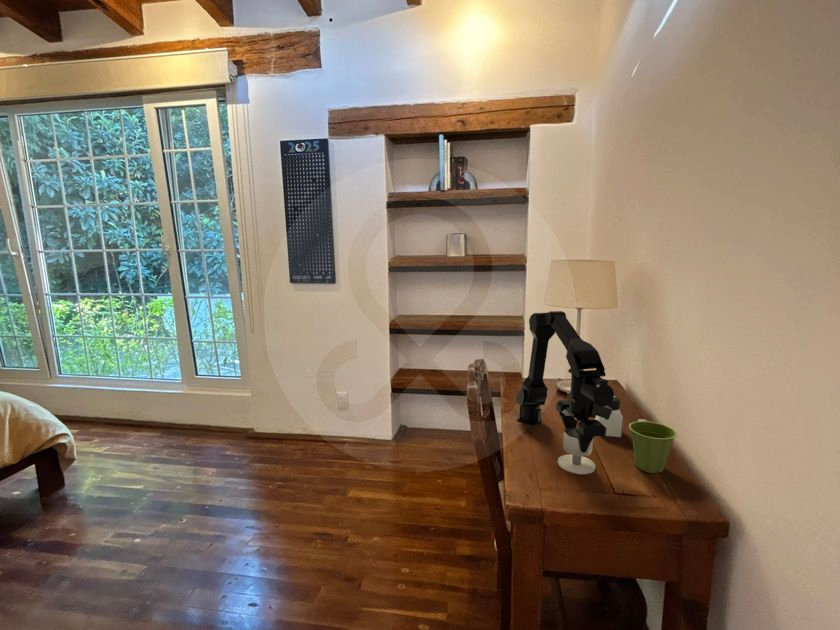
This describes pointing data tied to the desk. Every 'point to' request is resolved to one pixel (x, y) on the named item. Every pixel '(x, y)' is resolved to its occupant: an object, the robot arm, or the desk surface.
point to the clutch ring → (574, 443)
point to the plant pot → (651, 444)
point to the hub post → (576, 464)
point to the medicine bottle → (613, 420)
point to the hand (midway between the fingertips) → (577, 445)
